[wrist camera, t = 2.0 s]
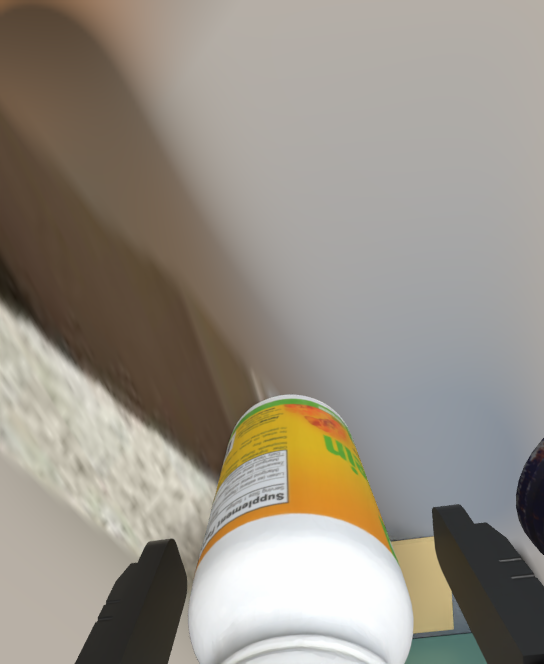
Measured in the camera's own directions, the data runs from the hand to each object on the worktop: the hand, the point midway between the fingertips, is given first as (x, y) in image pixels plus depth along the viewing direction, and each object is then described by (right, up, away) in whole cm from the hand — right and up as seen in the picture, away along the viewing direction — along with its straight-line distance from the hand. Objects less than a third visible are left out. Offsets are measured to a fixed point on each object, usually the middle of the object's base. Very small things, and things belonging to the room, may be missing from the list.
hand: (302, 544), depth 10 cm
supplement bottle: (0, +2, +5) cm, 5 cm away
